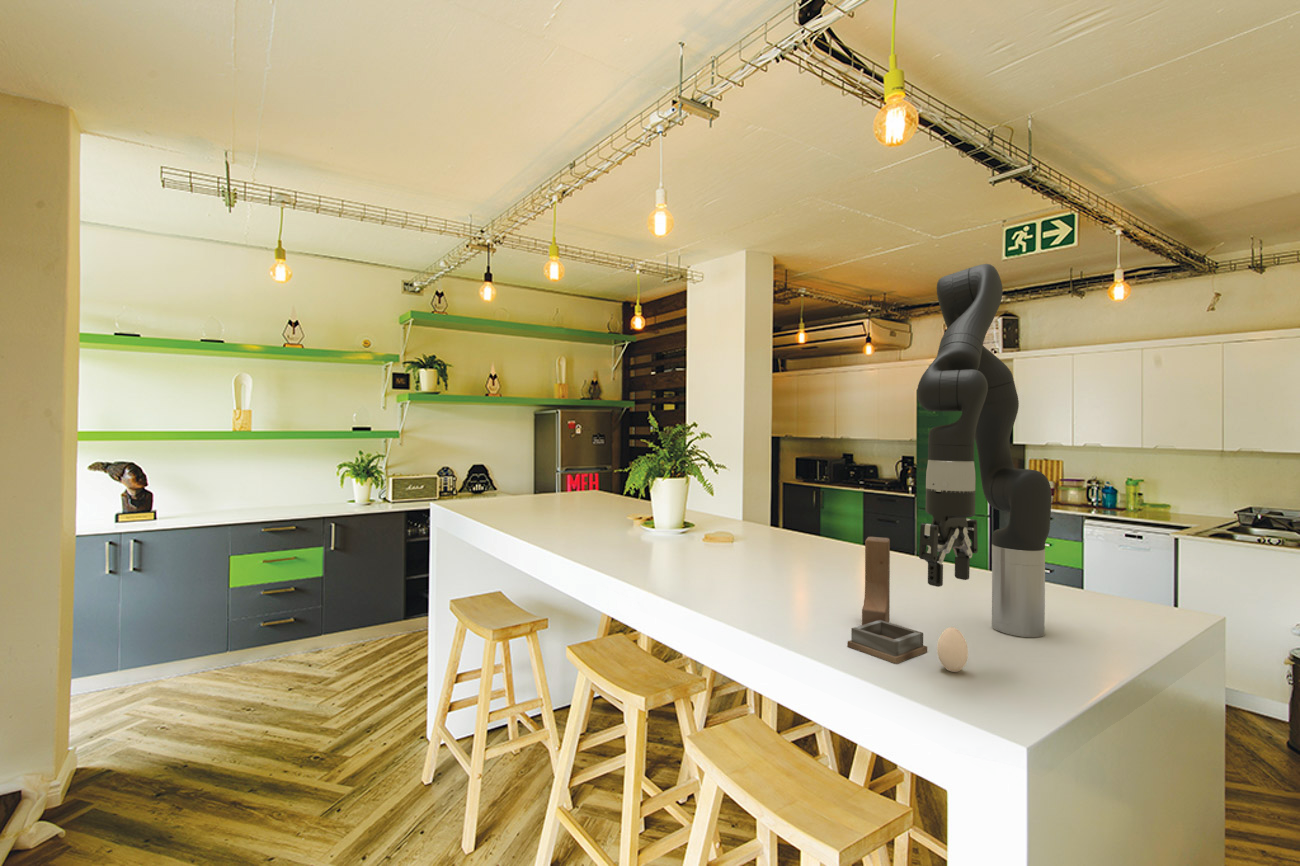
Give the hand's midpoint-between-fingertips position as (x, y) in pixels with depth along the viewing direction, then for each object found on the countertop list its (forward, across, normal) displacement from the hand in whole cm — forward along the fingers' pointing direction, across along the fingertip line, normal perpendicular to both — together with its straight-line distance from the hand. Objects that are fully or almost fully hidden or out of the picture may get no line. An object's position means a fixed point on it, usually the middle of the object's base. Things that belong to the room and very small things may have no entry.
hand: (948, 582), depth 99 cm
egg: (+15, 0, +1) cm, 15 cm away
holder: (+15, 0, -12) cm, 19 cm away
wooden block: (+15, -10, -21) cm, 28 cm away
